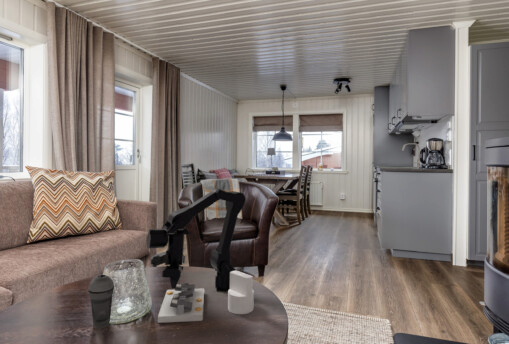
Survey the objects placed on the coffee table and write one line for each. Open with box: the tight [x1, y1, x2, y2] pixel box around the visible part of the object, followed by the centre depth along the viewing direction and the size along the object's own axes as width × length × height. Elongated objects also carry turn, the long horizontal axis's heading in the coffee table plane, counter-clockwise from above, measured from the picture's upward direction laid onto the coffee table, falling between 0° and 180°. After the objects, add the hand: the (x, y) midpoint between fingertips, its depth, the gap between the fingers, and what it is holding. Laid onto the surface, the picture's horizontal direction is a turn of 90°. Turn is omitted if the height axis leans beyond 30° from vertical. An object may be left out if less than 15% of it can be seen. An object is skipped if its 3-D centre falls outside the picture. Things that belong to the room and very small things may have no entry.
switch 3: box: [170, 298, 193, 311], centre depth 105 cm, size 7×4×1 cm, turn 98°
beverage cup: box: [88, 260, 115, 330], centre depth 98 cm, size 7×7×20 cm
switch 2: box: [173, 289, 194, 299], centre depth 112 cm, size 7×4×1 cm, turn 97°
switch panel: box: [157, 282, 205, 324], centre depth 112 cm, size 14×21×5 cm, turn 8°
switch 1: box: [174, 283, 196, 291], centre depth 119 cm, size 7×4×1 cm, turn 98°
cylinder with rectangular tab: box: [227, 269, 255, 315], centre depth 111 cm, size 9×9×12 cm
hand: (173, 288), depth 118 cm, fingers closed, pressing on switch 1
